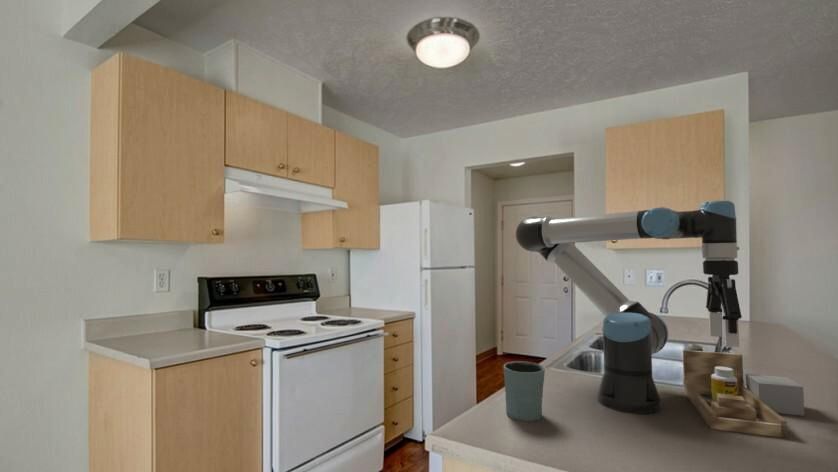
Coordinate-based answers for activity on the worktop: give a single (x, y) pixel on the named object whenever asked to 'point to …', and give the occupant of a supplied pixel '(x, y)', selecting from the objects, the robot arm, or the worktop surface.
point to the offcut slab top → (734, 412)
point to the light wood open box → (699, 382)
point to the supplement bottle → (723, 382)
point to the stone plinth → (777, 393)
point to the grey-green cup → (524, 390)
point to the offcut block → (731, 401)
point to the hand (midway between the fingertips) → (723, 341)
